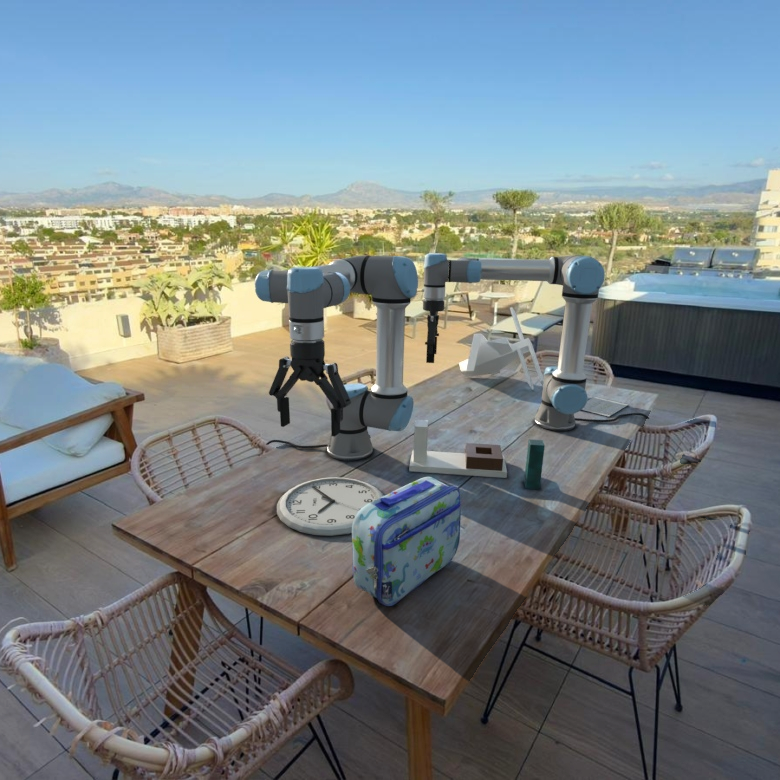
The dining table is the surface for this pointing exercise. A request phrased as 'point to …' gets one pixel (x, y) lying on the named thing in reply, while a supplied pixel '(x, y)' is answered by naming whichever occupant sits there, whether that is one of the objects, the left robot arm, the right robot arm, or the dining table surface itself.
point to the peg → (534, 464)
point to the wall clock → (325, 505)
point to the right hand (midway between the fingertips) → (431, 358)
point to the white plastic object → (499, 355)
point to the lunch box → (405, 538)
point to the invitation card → (603, 406)
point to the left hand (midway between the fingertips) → (310, 429)
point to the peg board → (456, 457)
